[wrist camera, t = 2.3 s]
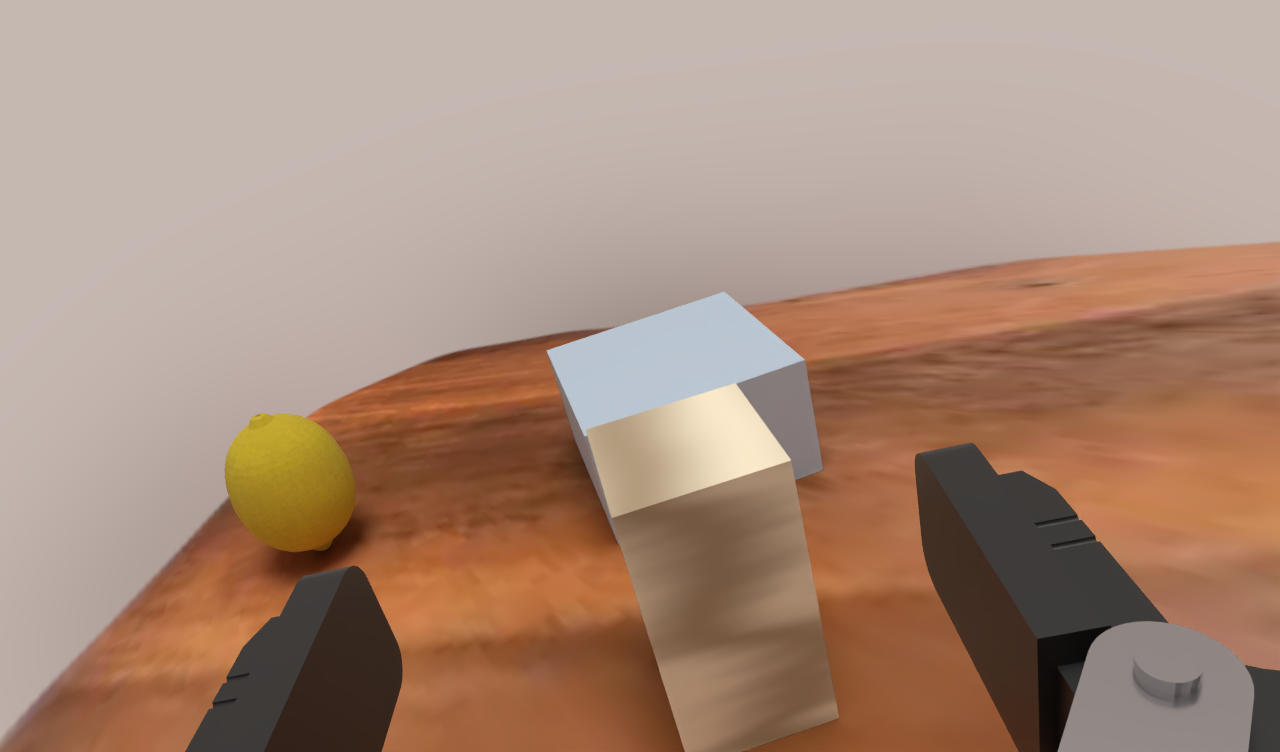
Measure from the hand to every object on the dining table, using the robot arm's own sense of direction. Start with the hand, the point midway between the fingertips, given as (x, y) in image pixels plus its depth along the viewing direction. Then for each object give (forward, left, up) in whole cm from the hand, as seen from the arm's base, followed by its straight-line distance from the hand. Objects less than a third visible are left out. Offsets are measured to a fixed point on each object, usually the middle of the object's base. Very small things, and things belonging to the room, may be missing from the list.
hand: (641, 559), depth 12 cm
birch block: (-2, -11, -15) cm, 19 cm away
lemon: (+15, -28, -15) cm, 35 cm away
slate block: (-4, -26, -15) cm, 31 cm away
